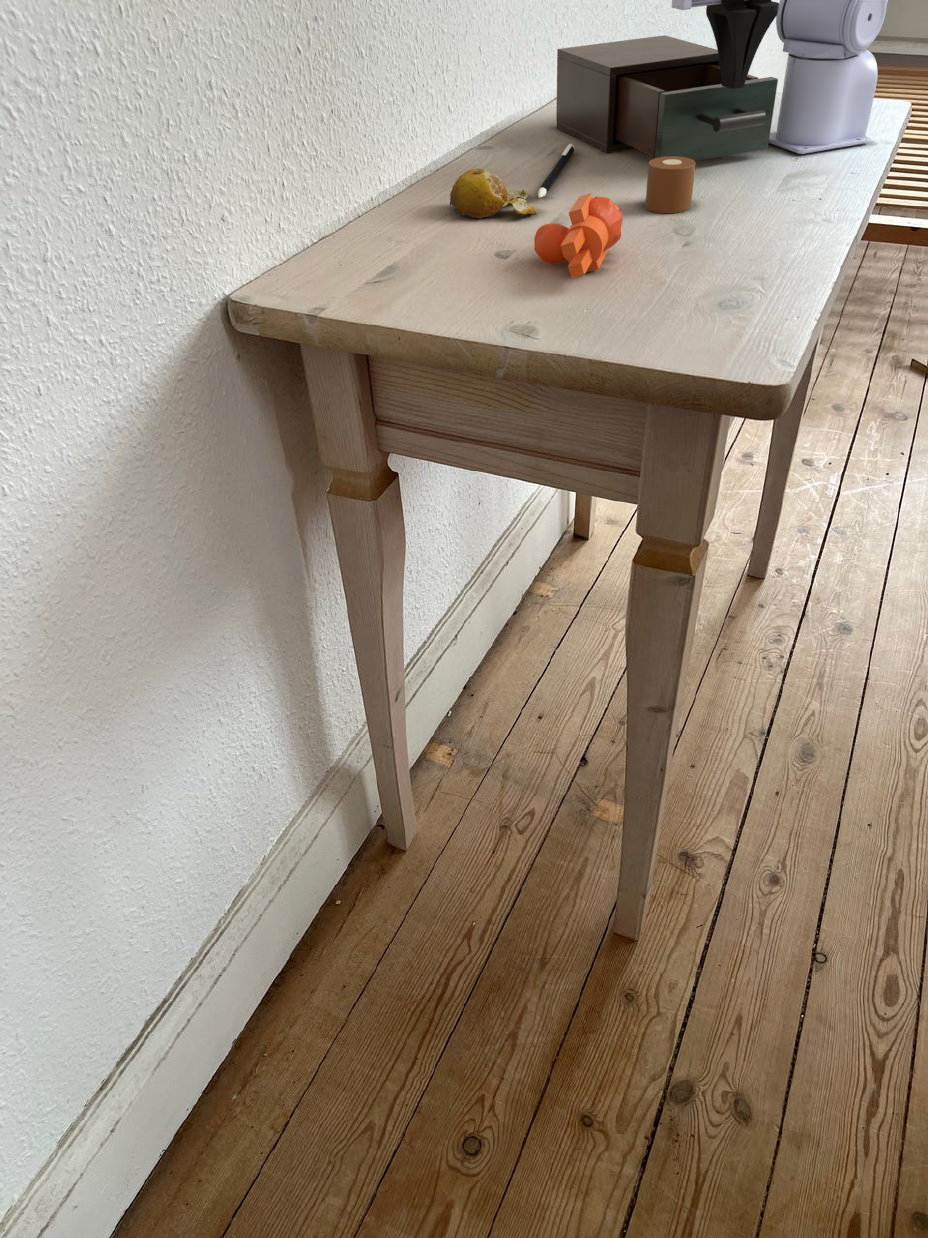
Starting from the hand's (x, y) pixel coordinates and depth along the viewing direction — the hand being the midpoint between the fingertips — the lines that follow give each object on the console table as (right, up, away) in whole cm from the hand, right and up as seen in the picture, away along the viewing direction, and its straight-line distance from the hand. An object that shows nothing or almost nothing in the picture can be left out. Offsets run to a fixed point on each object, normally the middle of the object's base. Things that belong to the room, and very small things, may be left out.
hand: (732, 86), depth 95 cm
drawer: (-2, -2, +9) cm, 9 cm away
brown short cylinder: (-7, -13, -3) cm, 15 cm away
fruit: (-24, -13, -1) cm, 27 cm away
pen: (-17, -6, +7) cm, 19 cm away
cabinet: (-6, +6, +19) cm, 21 cm away
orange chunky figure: (-18, -23, -14) cm, 32 cm away
